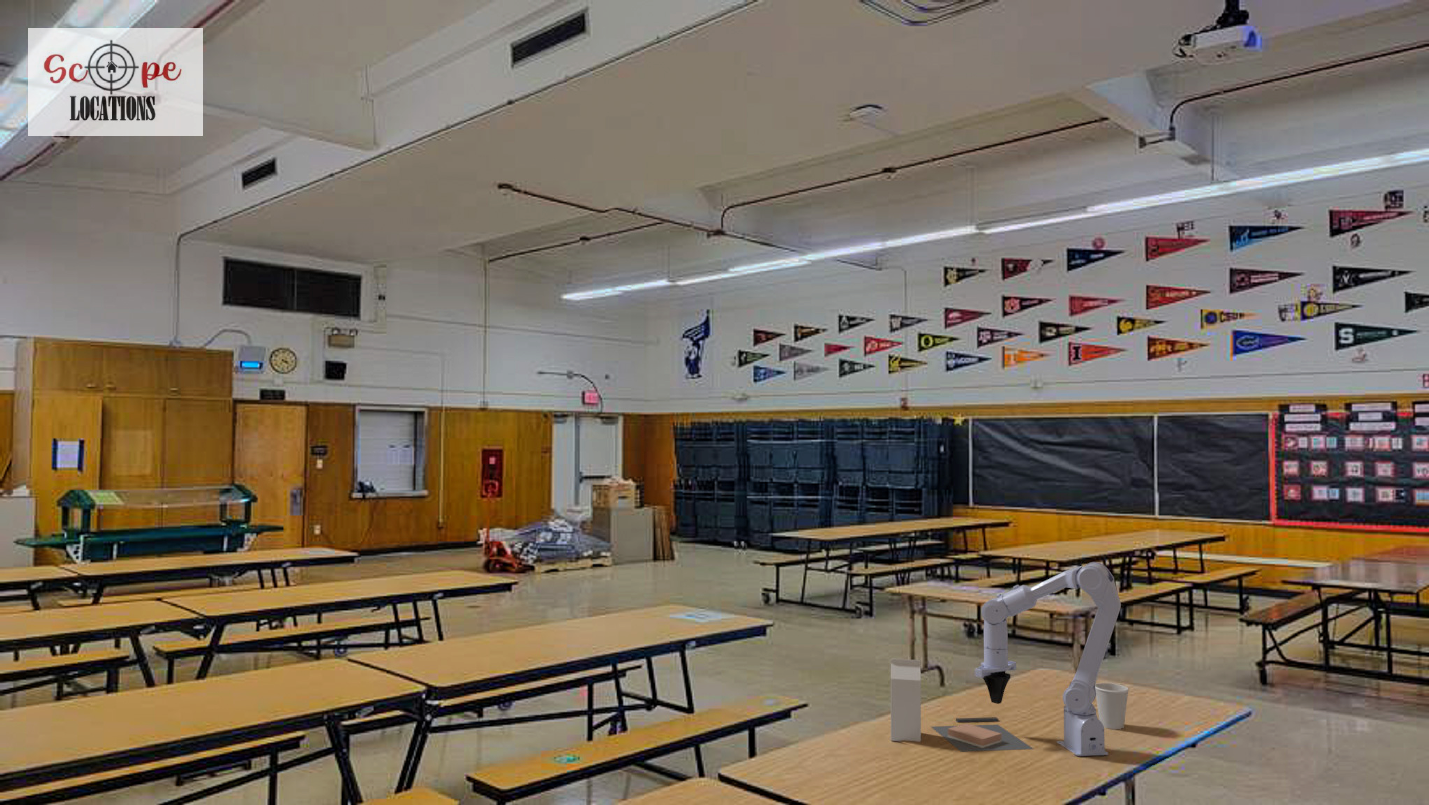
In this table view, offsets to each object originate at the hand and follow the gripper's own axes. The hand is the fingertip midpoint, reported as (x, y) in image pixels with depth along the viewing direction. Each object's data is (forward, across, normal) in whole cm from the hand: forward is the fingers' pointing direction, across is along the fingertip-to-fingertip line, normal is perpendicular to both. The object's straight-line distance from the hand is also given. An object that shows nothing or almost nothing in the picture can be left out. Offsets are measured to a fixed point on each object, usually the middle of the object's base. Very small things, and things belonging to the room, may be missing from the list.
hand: (996, 702), depth 224 cm
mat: (+8, +6, 0) cm, 10 cm away
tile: (+6, +5, 0) cm, 8 cm away
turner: (+8, -1, -11) cm, 14 cm away
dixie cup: (+8, -31, +13) cm, 35 cm away
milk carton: (+8, +20, -12) cm, 25 cm away
